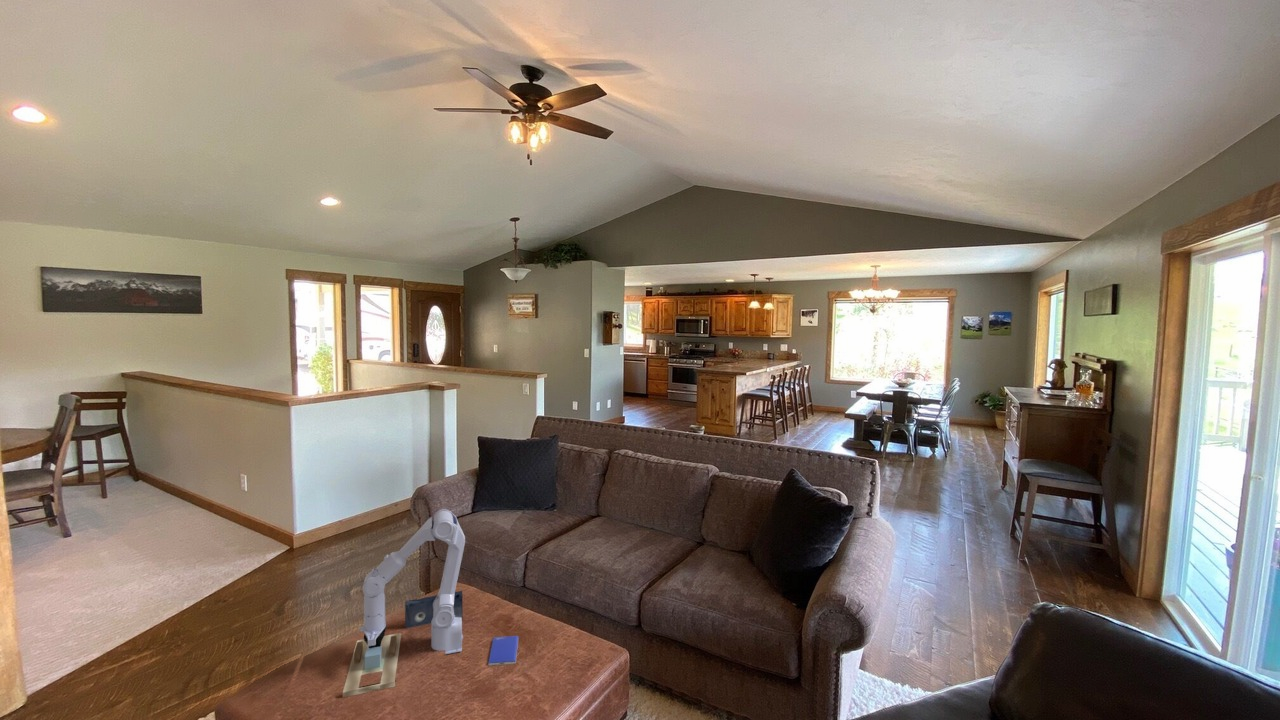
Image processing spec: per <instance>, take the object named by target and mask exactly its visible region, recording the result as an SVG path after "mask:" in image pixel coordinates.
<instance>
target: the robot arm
mask: <svg viewBox="0 0 1280 720" xmlns="http://www.w3.org/2000/svg"><path fill="white" fill-rule="evenodd" d="M436 539H438V540H440V541H442V542H444V543H446V544H447V545H448V547H447V552H446V557H445V561H444V567H443V571H442V578H441V581H440V582H441V583H440V586H439V587H440V588H439V590H438V592H437V597H436V598H435V600H434V602H433V619H432V621H431V623H430V624H431V625H430V627H431V629H430V630H431V631H430V633H431V634H430V639H431V643H430V644H431V648H432V650H434V651H438V652H439V651H440V652H441V651H444V655H449V654H455V653H459V652H462V651H463V641H464V634H463V620H462V617H455V615H454V610H453V606H454V594H455V592H456V589H457V583H458V579H459V574H460V568H461V563H462V560H463V554H464V550H465V544H466V535H465V534H464V531H463V529H462V527H461V525H460V523H459V521H458V518H457V516H456V514H455V513H453V512H452V511H450V510H449V509H445V508H443V509H439V510H438V511H436V512H435V513H434V514H433V516H431V517H429V518H428V519H426V521H425V522H424V524H422V526H421V527H420V528H418V530H417V531H416V532H415V533H414V534H413V535H412V536H411V538H409V539H408V541H407V542H406V543H405V544H404V545H403V546H402V547H401V548H400V549H399V550H398V551H393V552H391V553H390V554H386V555H384V557H383V560H382V561H381V562H380V563H379V564H378V565H377V567H376V568H375V567H374V568H372V569H371V571H370V572H368V573H367V574H366V575H365V578H364V579H363V580H364V581H363V585H362V592H363V596H364V597H363V625H361V626H360V627H359V632H361V633H362V632H364V635H363V639H364V641H365V642H366V643H367V645H368V647H369V648H374V647H379V646H381V641H382V639H383V637H384V636H386V628H387V627H386V626H387V622H386V594H385V588H386V584H388V583H389V582H391V580H392V579H394V577H395V576H396V575H397V574H399V572H400V571H401V570H403V568H404V567H405V566H406V564H407V562H406V561H407V559H408V558H409V557H410V556H411V555H413V553H415V552H416V551H417V550H418V548H420V547H421V546H422V545H423V544H424V543H425V542H435V541H436Z"/></svg>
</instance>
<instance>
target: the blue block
mask: <svg viewBox="0 0 1280 720" xmlns="http://www.w3.org/2000/svg"><path fill="white" fill-rule="evenodd" d="M381 660H382V646H379V647H374V648H368V649H367V650H366V654H365V670H367V669H373V668H378V667H380V665H381Z"/></svg>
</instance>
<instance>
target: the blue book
mask: <svg viewBox="0 0 1280 720" xmlns="http://www.w3.org/2000/svg"><path fill="white" fill-rule="evenodd" d="M518 646H519V636H518V635H512V636H511V635H509V636H496V637H493V639H492V643H491V647H490V653H489V659H488V662H487V663H488V664H487V666H488V667H491V666H501V665H513V664H516V662H517V654H518Z"/></svg>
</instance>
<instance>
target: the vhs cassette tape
mask: <svg viewBox="0 0 1280 720" xmlns="http://www.w3.org/2000/svg"><path fill="white" fill-rule="evenodd" d="M437 595H438V594H437ZM437 595H431V596H426V597H422V598H418V599H417V598H416V599H410V600H405V601H404V603H405V604H404V605H405V606H404V613H405V614H404V615H405V617H404V618H405V621H404V622H405V623H404V625H405V629H410V628H417V627H420V626H424V625H429V624H431V621H432V619H433V602H434V600H435V598H436V597H437ZM463 595H464V594H463V591H462V590H460V591H455V594H454V606H453V610H454V615H455V617H462V621H463V619H464V616H463V608H464V606H463V602H464V601H463Z"/></svg>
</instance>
